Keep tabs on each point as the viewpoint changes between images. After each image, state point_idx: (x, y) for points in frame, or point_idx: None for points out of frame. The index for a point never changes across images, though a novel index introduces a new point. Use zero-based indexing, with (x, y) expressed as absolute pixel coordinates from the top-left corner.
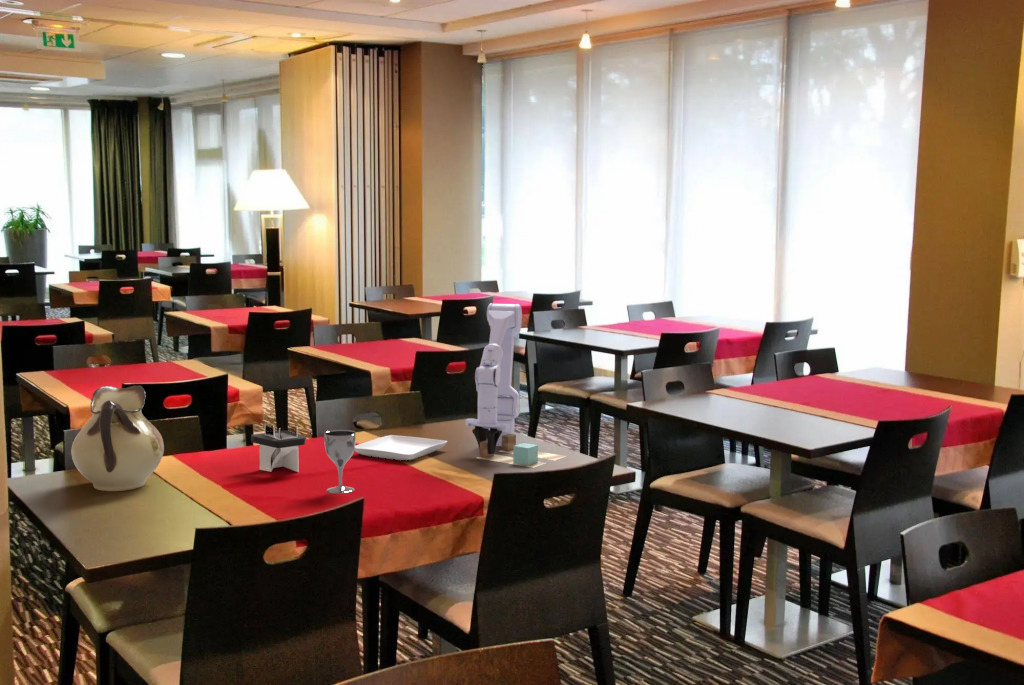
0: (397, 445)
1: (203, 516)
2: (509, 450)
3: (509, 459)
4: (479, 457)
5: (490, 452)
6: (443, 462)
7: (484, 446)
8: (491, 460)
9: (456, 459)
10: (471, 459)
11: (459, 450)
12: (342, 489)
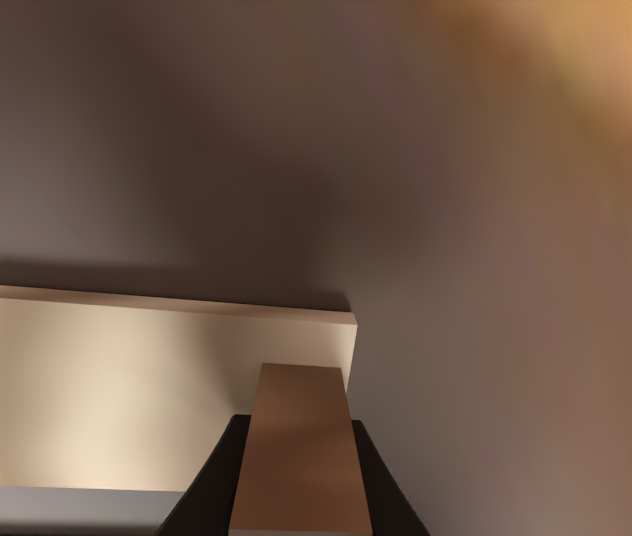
0: None
1: None
2: None
3: (56, 422)
4: (334, 354)
5: (225, 431)
6: (622, 92)
7: (279, 467)
8: (161, 310)
9: (536, 274)
10: (413, 339)
11: (603, 505)
12: None
